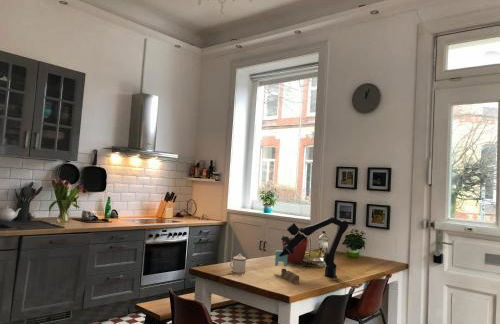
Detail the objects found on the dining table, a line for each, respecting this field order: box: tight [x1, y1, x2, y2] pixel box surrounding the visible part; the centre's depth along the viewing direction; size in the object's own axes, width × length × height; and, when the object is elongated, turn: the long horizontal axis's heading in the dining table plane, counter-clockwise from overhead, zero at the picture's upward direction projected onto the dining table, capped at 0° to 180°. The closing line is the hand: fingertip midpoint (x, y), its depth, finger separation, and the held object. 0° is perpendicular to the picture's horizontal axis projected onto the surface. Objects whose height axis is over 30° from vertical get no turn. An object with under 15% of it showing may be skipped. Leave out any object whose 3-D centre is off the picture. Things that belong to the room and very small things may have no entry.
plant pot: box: [281, 237, 309, 264], centre depth 318 cm, size 19×19×17 cm
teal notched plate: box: [274, 249, 288, 267], centre depth 273 cm, size 8×2×10 cm, turn 90°
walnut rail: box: [280, 268, 300, 285], centre depth 254 cm, size 20×2×5 cm, turn 21°
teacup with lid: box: [229, 253, 247, 274], centre depth 270 cm, size 12×9×12 cm
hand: (279, 255), depth 273 cm, fingers closed on teal notched plate, 2 cm apart
